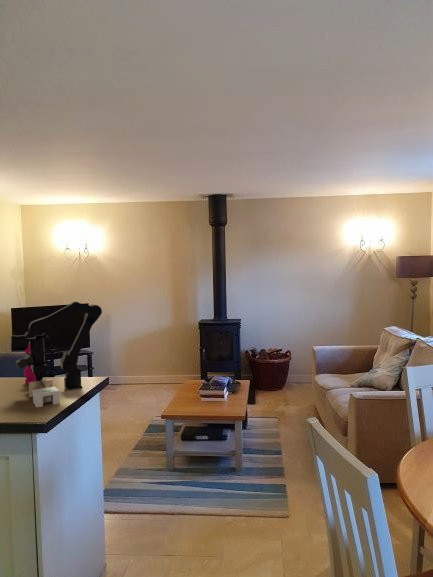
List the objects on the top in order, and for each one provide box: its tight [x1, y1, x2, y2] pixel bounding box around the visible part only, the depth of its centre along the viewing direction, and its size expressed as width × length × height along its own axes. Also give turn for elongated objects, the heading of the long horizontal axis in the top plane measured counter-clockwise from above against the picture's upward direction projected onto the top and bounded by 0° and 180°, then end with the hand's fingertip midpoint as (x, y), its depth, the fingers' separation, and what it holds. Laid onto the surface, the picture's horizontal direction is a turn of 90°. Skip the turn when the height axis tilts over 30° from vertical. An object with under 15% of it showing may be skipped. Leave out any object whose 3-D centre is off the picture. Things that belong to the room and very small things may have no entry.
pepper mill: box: [23, 341, 36, 385], centre depth 201 cm, size 7×7×20 cm
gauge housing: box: [32, 386, 61, 408], centre depth 166 cm, size 9×8×5 cm
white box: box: [28, 378, 53, 404], centre depth 171 cm, size 9×15×6 cm, turn 32°
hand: (38, 385), depth 183 cm, fingers closed
